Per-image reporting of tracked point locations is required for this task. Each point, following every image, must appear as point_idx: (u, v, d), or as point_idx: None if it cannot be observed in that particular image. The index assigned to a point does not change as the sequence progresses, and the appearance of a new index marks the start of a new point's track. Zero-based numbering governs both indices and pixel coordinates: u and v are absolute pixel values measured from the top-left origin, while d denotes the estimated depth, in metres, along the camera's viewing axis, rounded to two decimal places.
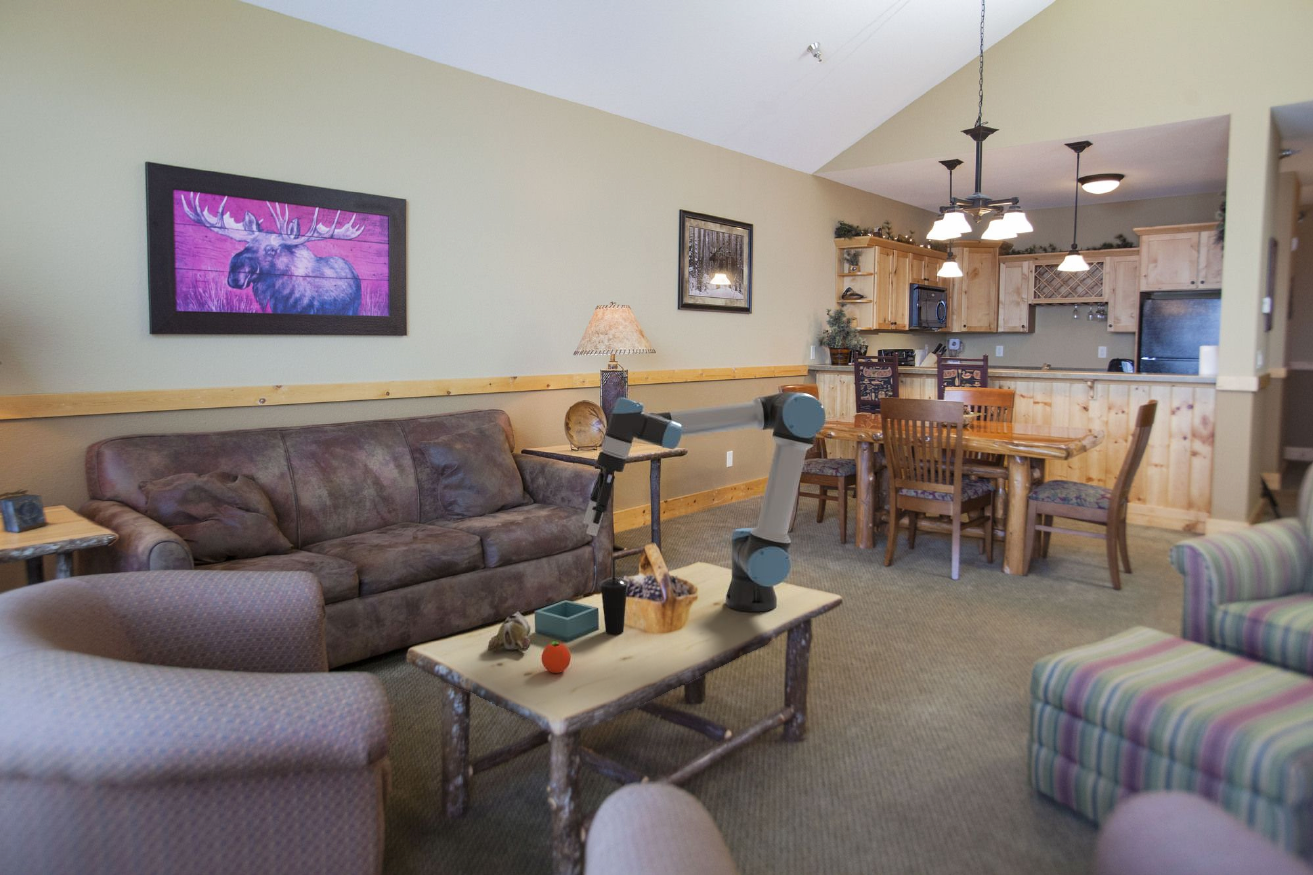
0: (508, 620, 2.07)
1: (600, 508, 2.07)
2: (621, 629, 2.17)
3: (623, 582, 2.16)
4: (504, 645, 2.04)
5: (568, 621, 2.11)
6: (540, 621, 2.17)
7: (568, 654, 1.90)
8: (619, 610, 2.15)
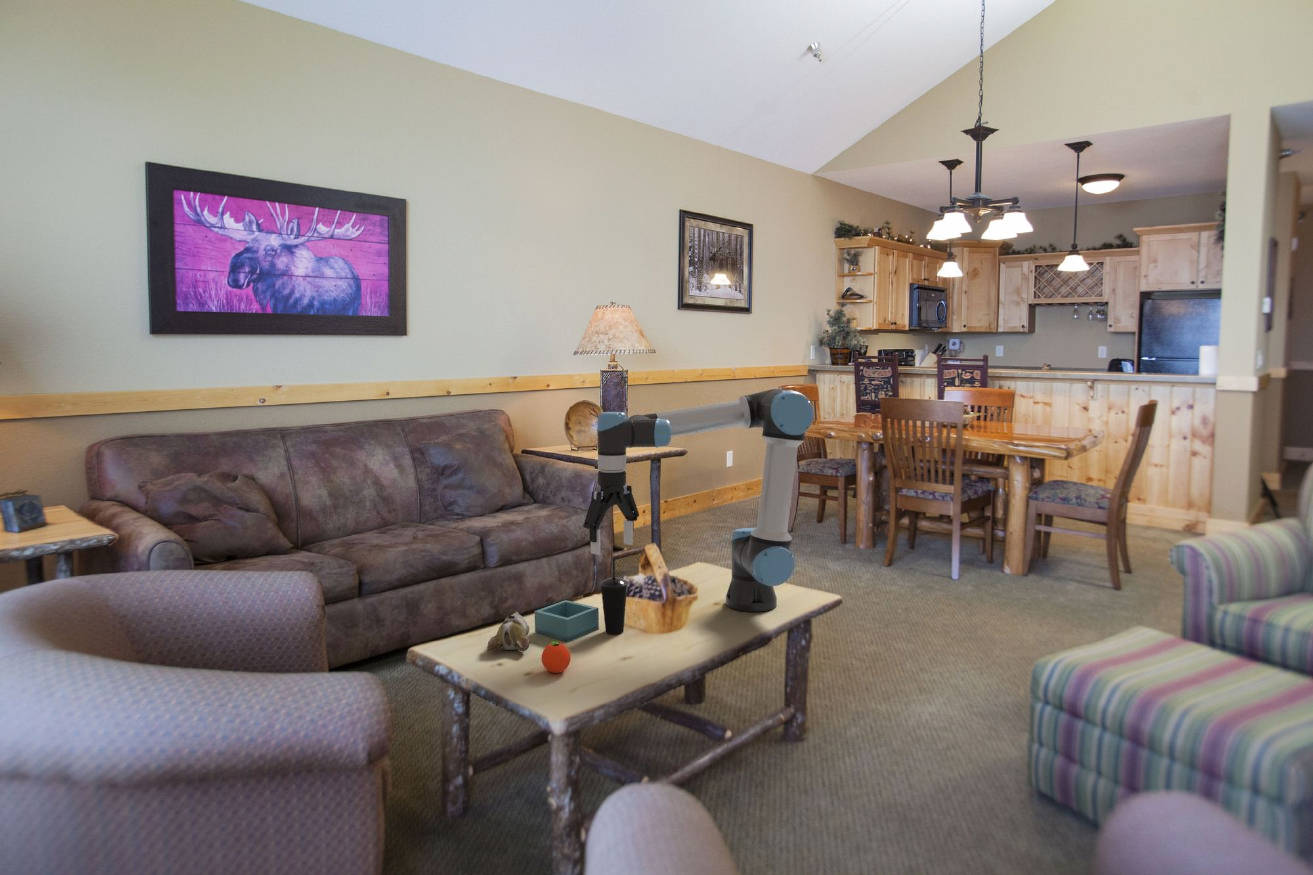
0: (507, 620, 2.07)
1: (586, 526, 2.07)
2: (621, 629, 2.17)
3: (623, 582, 2.16)
4: (503, 645, 2.04)
5: (568, 621, 2.11)
6: (540, 621, 2.17)
7: (568, 654, 1.90)
8: (619, 610, 2.15)
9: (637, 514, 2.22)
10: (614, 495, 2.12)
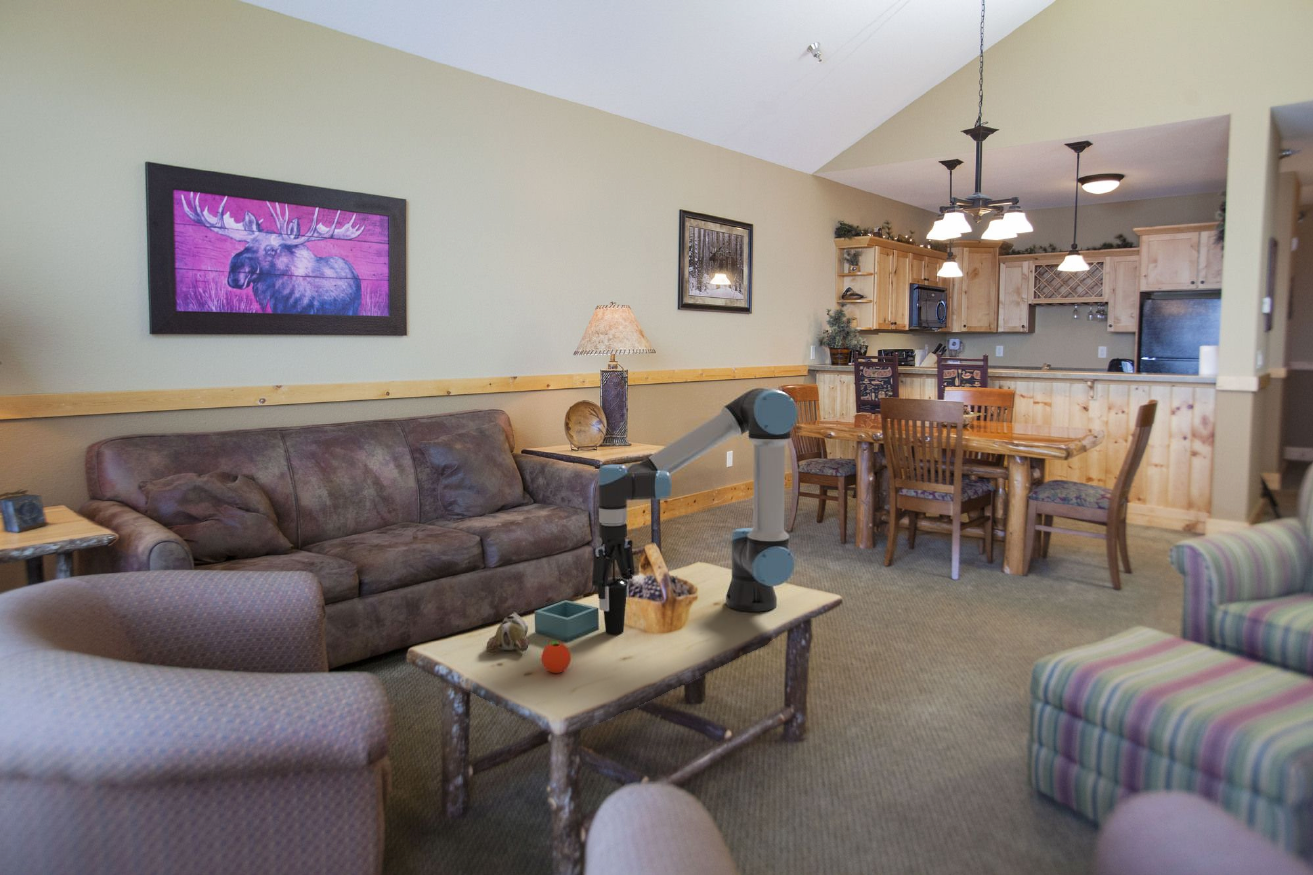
0: (506, 621, 2.06)
1: (594, 584, 2.11)
2: (621, 629, 2.17)
3: (623, 582, 2.16)
4: (502, 646, 2.04)
5: (568, 621, 2.11)
6: (540, 621, 2.17)
7: (568, 654, 1.90)
8: (619, 610, 2.15)
9: (633, 572, 2.22)
10: (615, 548, 2.14)
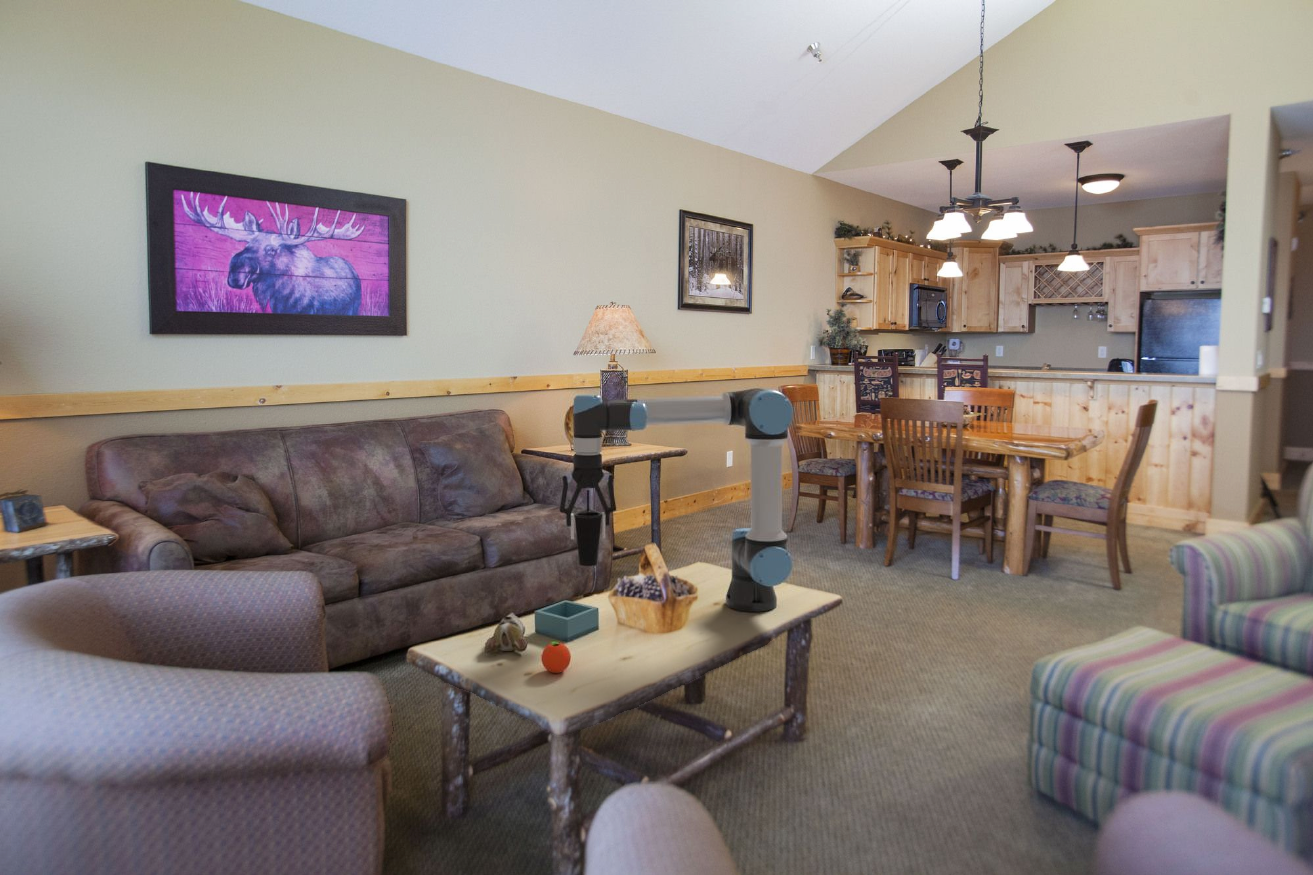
0: (504, 621, 2.06)
1: None
2: (588, 561, 2.14)
3: (591, 514, 2.13)
4: (501, 647, 2.03)
5: (568, 621, 2.11)
6: (540, 621, 2.17)
7: (568, 654, 1.90)
8: (584, 541, 2.13)
9: (613, 508, 2.15)
10: (583, 478, 2.12)
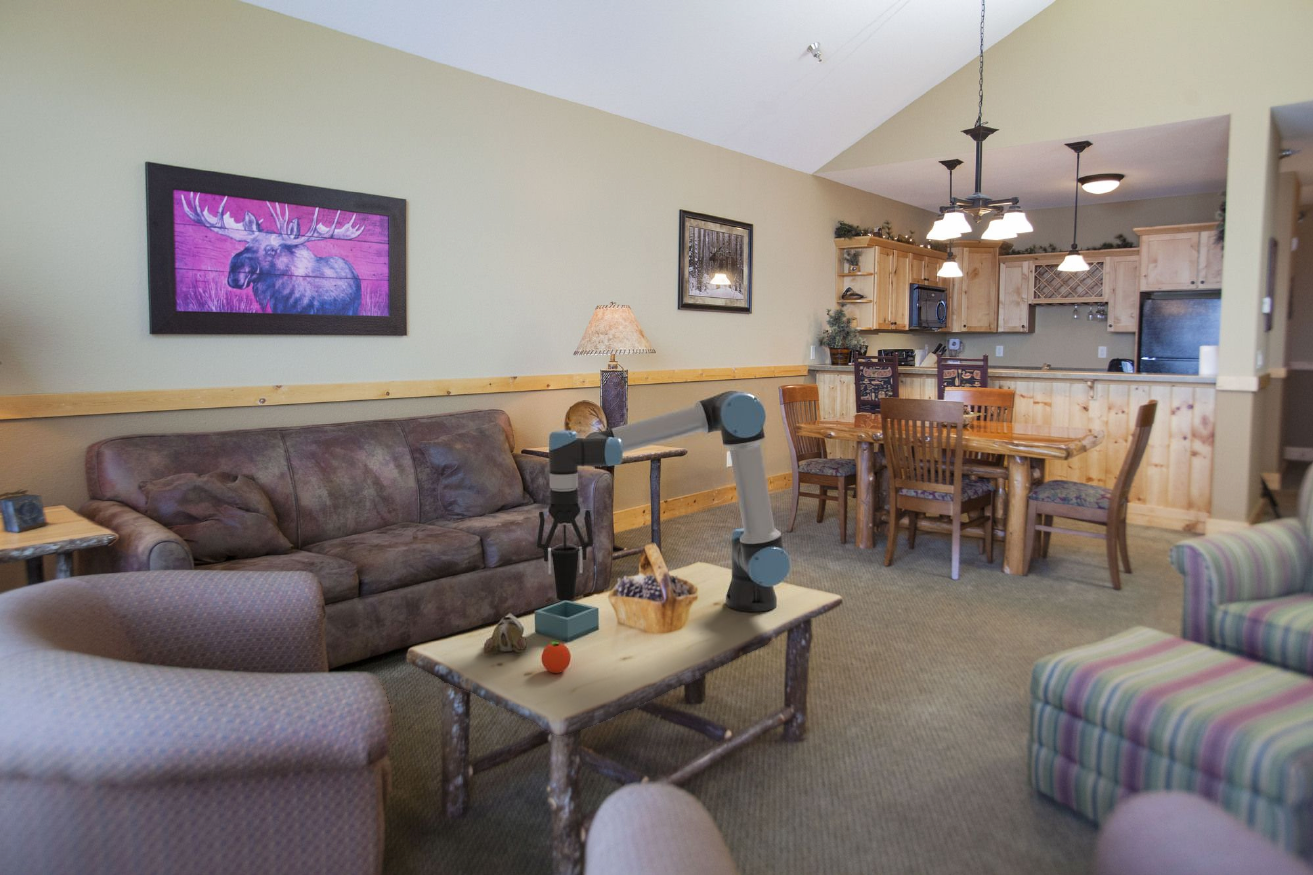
0: (503, 622, 2.06)
1: None
2: (566, 596, 2.16)
3: (567, 549, 2.14)
4: (500, 647, 2.03)
5: (568, 621, 2.11)
6: (540, 621, 2.17)
7: (568, 654, 1.90)
8: (561, 576, 2.15)
9: (590, 543, 2.17)
10: (559, 513, 2.14)
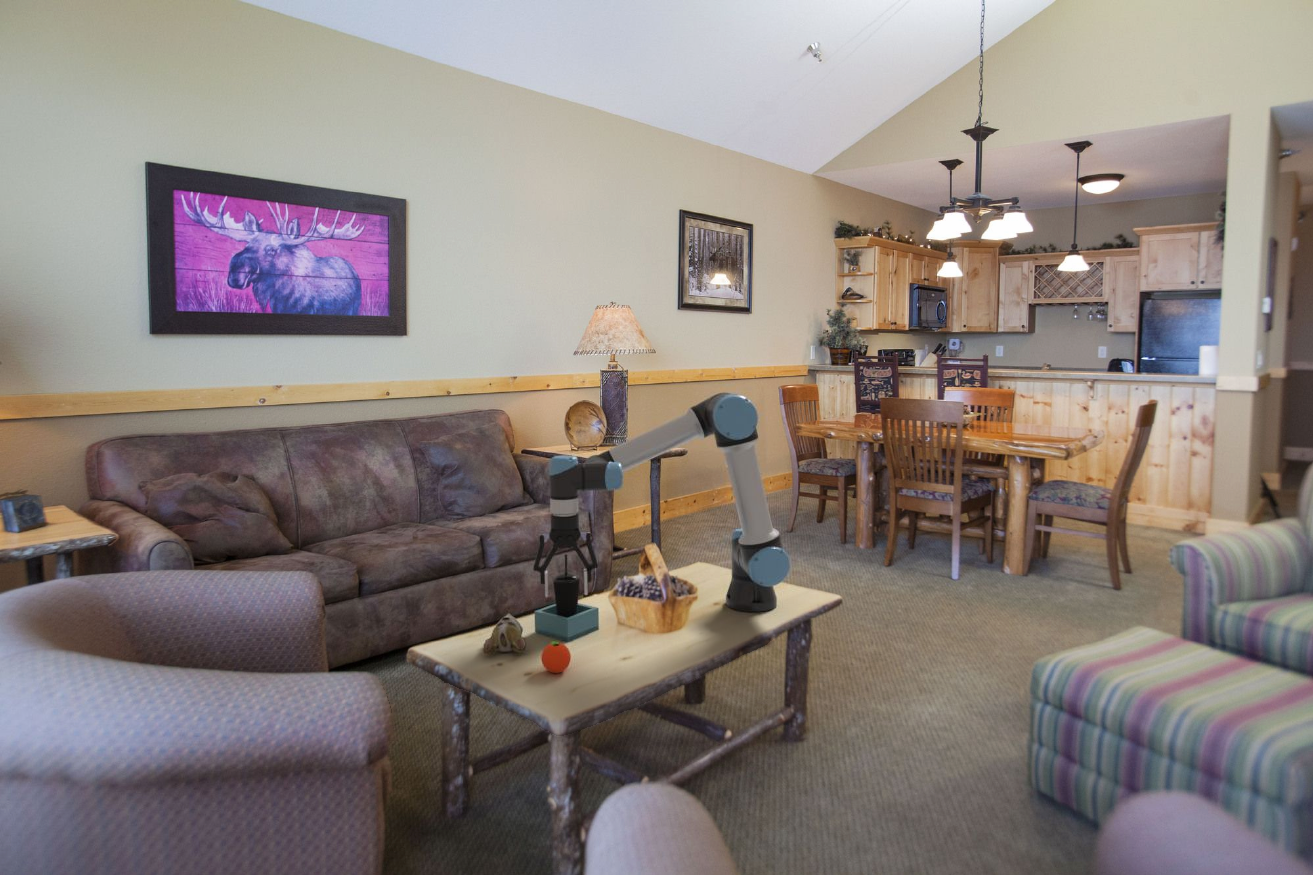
0: (502, 622, 2.05)
1: None
2: None
3: (568, 579, 2.15)
4: (499, 647, 2.02)
5: (568, 621, 2.11)
6: (540, 621, 2.17)
7: (568, 654, 1.90)
8: (562, 605, 2.16)
9: (595, 565, 2.18)
10: (560, 538, 2.15)
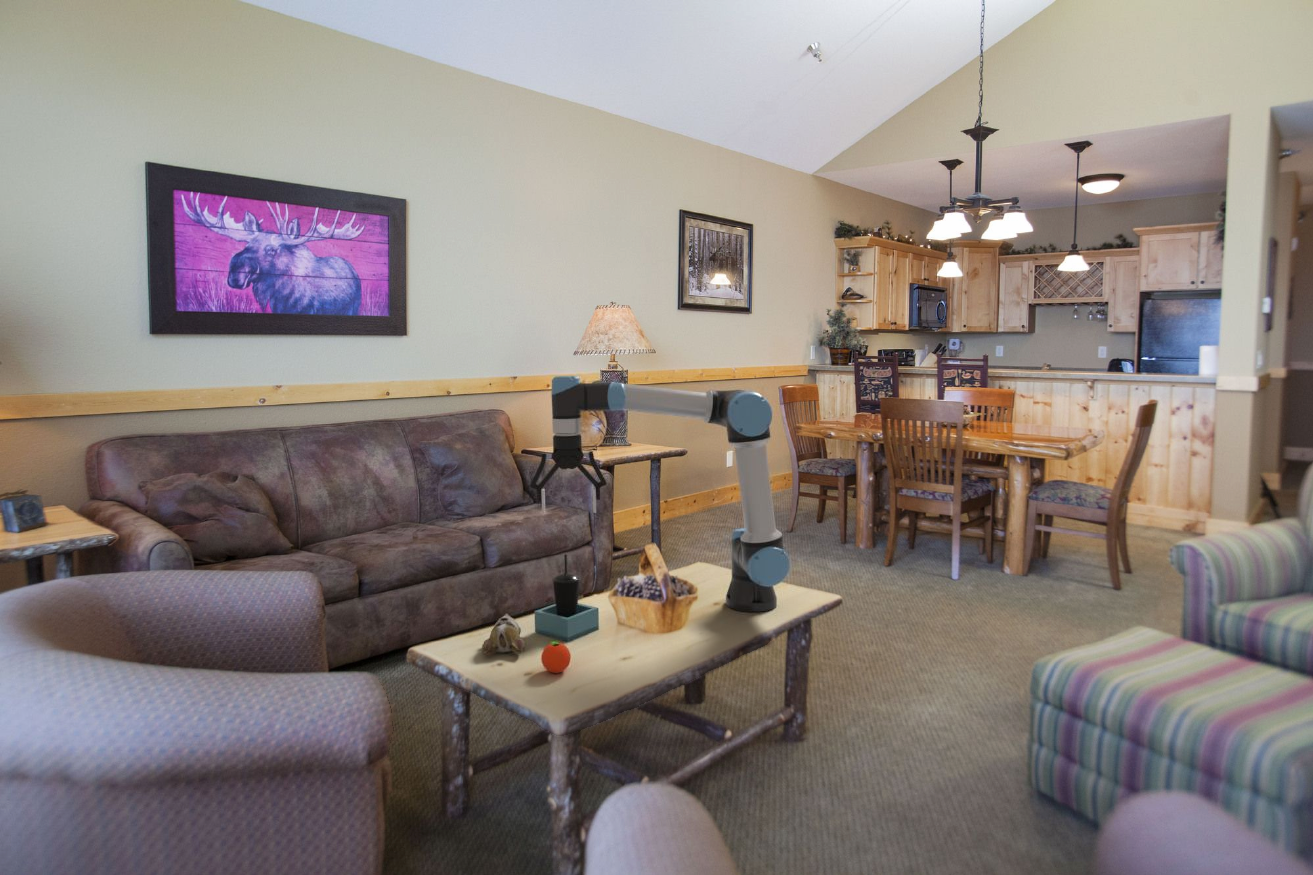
0: (500, 623, 2.05)
1: None
2: None
3: (568, 579, 2.15)
4: (498, 648, 2.02)
5: (568, 621, 2.11)
6: (540, 621, 2.17)
7: (568, 654, 1.90)
8: (562, 605, 2.16)
9: (603, 482, 2.16)
10: (562, 458, 2.13)
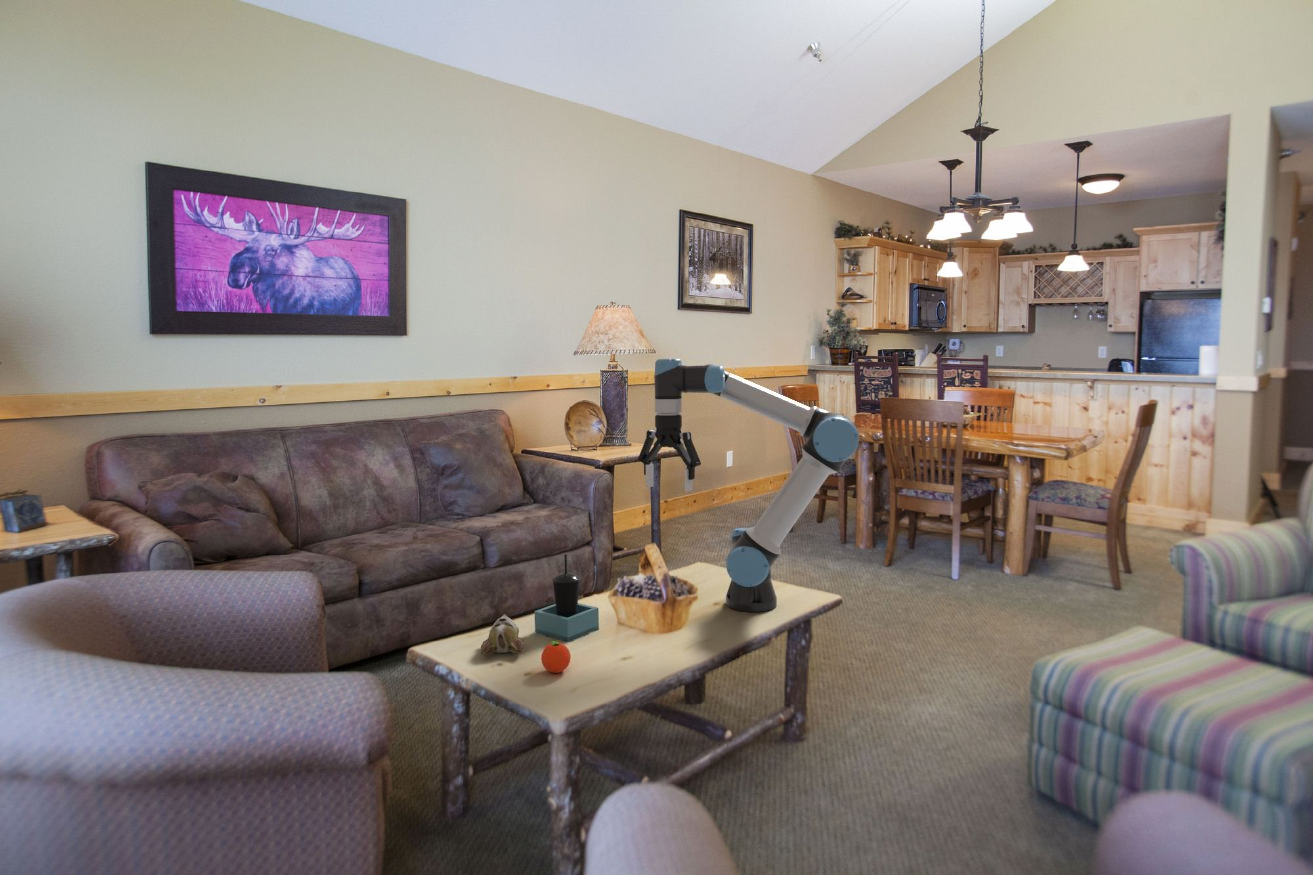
0: (499, 623, 2.05)
1: None
2: None
3: (568, 579, 2.15)
4: (497, 649, 2.02)
5: (568, 621, 2.11)
6: (540, 621, 2.17)
7: (568, 654, 1.90)
8: (562, 605, 2.16)
9: (693, 463, 2.21)
10: (660, 436, 2.26)
